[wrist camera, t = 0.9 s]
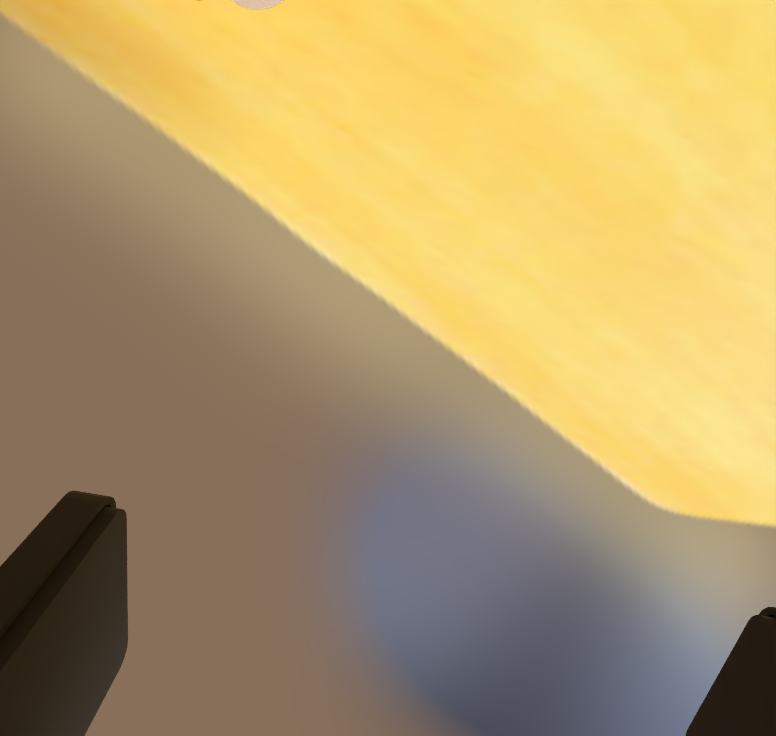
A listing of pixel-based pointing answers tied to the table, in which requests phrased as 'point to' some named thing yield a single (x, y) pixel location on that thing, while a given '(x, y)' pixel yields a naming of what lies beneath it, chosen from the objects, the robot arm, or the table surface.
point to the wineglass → (257, 3)
